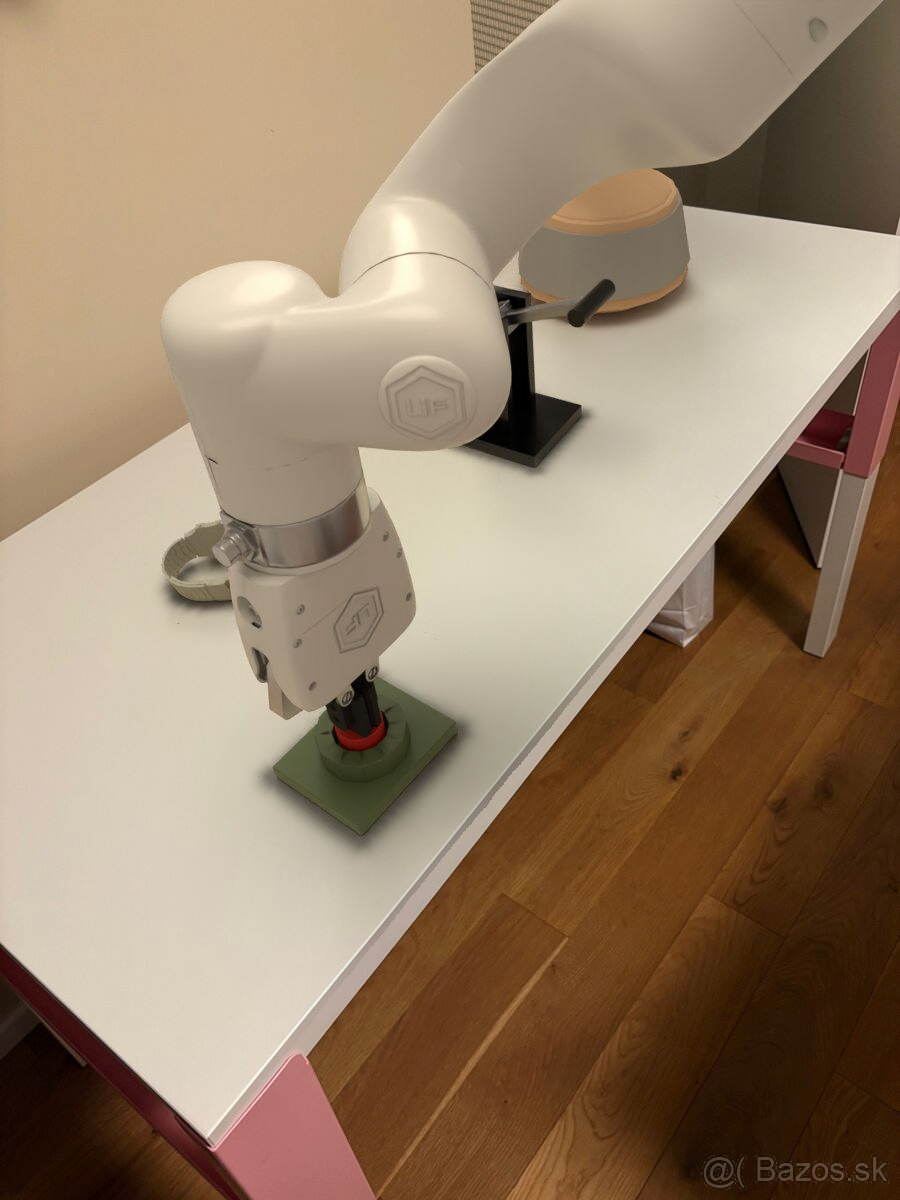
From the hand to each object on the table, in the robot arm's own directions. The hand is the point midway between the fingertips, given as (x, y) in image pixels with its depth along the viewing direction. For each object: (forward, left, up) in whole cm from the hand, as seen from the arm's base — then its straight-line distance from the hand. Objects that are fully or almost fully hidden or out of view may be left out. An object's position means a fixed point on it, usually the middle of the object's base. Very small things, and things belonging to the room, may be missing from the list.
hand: (357, 720), depth 62 cm
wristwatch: (+11, -20, -4) cm, 23 cm away
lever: (-19, -33, +8) cm, 39 cm away
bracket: (-15, -36, -4) cm, 39 cm away
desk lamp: (-30, -60, -4) cm, 67 cm away
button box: (0, 0, -4) cm, 4 cm away
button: (0, 0, -2) cm, 2 cm away
